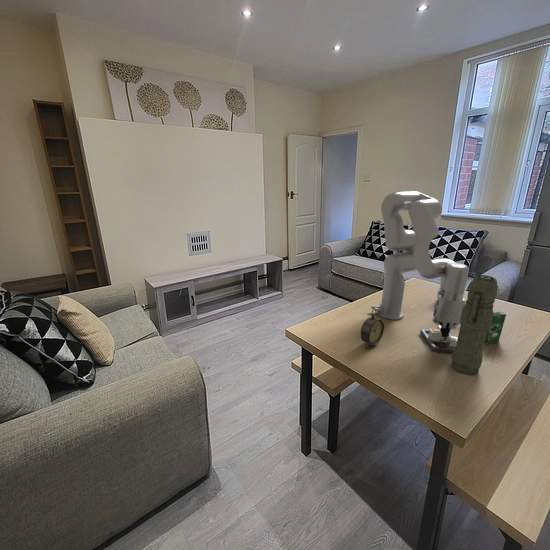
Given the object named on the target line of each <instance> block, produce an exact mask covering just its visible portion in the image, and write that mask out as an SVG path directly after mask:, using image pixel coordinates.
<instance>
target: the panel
mask: <svg viewBox="0 0 550 550" xmlns="http://www.w3.org/2000/svg"><path fill="white" fill-rule="evenodd" d="M436 329H439V330H440V329H441V325H440V324H438V325H437V328H436ZM419 334H420V336H421V337H422V339H423V340H424V342H425V343H426V345H427V346H428V349H430V351H431V352H432V354H447V355H452V354H453V350H454V349H455V348H456V344H457V339H458V336H453V335H452V334H451V332H450V333H449V334H448V336H447V337H443V336H442V335H441V339H440V341H431V339H430V338H429V336H428V334H429V329H424V328H420V333H419Z"/></svg>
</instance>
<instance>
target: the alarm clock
mask: <svg viewBox="0 0 550 550" xmlns="http://www.w3.org/2000/svg"><path fill="white" fill-rule="evenodd" d="M371 310H372V311H371V313H370V317H367V319H365V320H364V322H363V324H362V325H361V329H360V338H361V340H362V341H363V343H366V347H365V349H366V350H367V349H368V347H369V346H375V345H377V344H379V342H380V341H381V339H382V337H383V334H384V329H385V324H384V321H383V319H380V318H378V317H377V318H376V317H375V316H376V313H377V311H376V309H371ZM373 312H374V314H373Z"/></svg>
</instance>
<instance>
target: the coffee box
mask: <svg viewBox="0 0 550 550" xmlns="http://www.w3.org/2000/svg"><path fill="white" fill-rule="evenodd" d="M493 313H494V315H493V319H492V323H491V327H490V329H489V330H488V332H487V335H486V339H485V343H484V345H488V344H493V343H498V342H499V341H500V340H501V339H500V338H501V335H502V331H503V327H504V325H505V320H506V317H507V314H506V313H505V312H502V311H497V312H496V311H495V312H493Z"/></svg>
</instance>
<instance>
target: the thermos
mask: <svg viewBox="0 0 550 550" xmlns="http://www.w3.org/2000/svg"><path fill="white" fill-rule="evenodd" d="M498 287H499V286H498V280H497V278H495V277H494V276H491V275H485V274H478V275H475V276H474V277H473V279H471V282H470V283H469V287H468V292H467V295H466V297H467V299H465V305H464V307H463V308H462V313H461V318H460V324H459V325H460V326H459V329H458V330H459V331H458V335H457V338H458V339H457V344H456V348H455V349H454V350H453V354H451V362H450V366H451V368H452V369H453V370H454V371H456V372H458V373H459V374H462V375H467V376H472V377H473V376H477V375H479V372H480V369H481V367H482V363H483V352H484V351H483V350H484V348H485V344H484V343H485V339H486V335H487V332H488V330H489V329H490V327H491V323H492V319H493V315H494V313H495V312H494V303H495V301H496V297H497V293H498Z"/></svg>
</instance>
